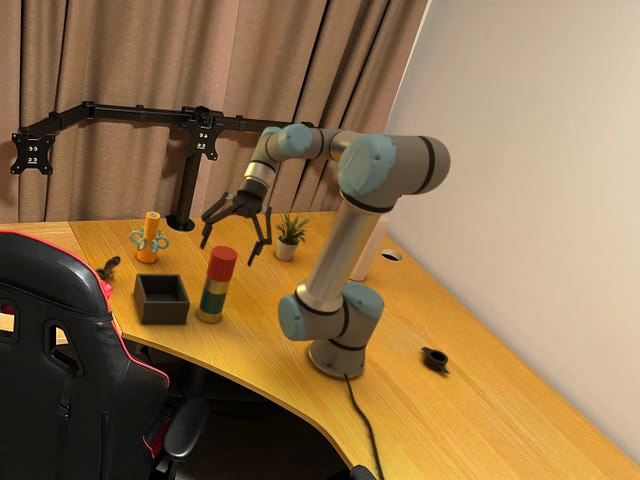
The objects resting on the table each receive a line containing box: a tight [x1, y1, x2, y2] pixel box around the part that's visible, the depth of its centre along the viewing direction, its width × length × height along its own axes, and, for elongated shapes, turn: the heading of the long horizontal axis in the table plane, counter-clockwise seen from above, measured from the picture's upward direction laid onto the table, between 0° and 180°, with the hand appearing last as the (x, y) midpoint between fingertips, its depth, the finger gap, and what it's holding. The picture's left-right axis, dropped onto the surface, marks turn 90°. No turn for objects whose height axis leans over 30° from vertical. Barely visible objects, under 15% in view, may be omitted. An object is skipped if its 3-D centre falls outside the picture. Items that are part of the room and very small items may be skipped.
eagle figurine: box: [94, 255, 122, 282], centre depth 184 cm, size 8×7×9 cm
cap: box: [206, 245, 238, 282], centre depth 168 cm, size 7×7×7 cm
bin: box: [133, 273, 191, 325], centre depth 176 cm, size 14×13×7 cm
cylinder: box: [129, 211, 170, 264], centre depth 193 cm, size 12×10×15 cm
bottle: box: [348, 213, 389, 282], centre depth 199 cm, size 8×8×30 cm
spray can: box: [197, 274, 231, 324], centre depth 175 cm, size 7×7×16 cm
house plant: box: [272, 208, 315, 262], centre depth 205 cm, size 14×14×16 cm
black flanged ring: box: [420, 346, 451, 375], centre depth 178 cm, size 8×10×3 cm
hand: (224, 256), depth 169 cm, fingers open, 13 cm apart
